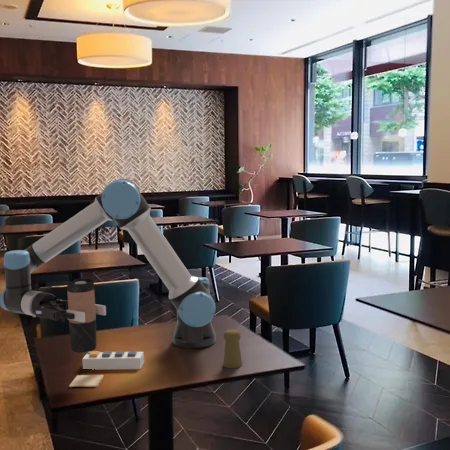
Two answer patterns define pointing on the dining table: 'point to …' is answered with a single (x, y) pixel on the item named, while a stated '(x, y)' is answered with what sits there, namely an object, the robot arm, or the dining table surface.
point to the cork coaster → (86, 381)
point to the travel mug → (85, 302)
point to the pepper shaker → (232, 349)
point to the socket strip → (113, 360)
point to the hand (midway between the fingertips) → (94, 313)
